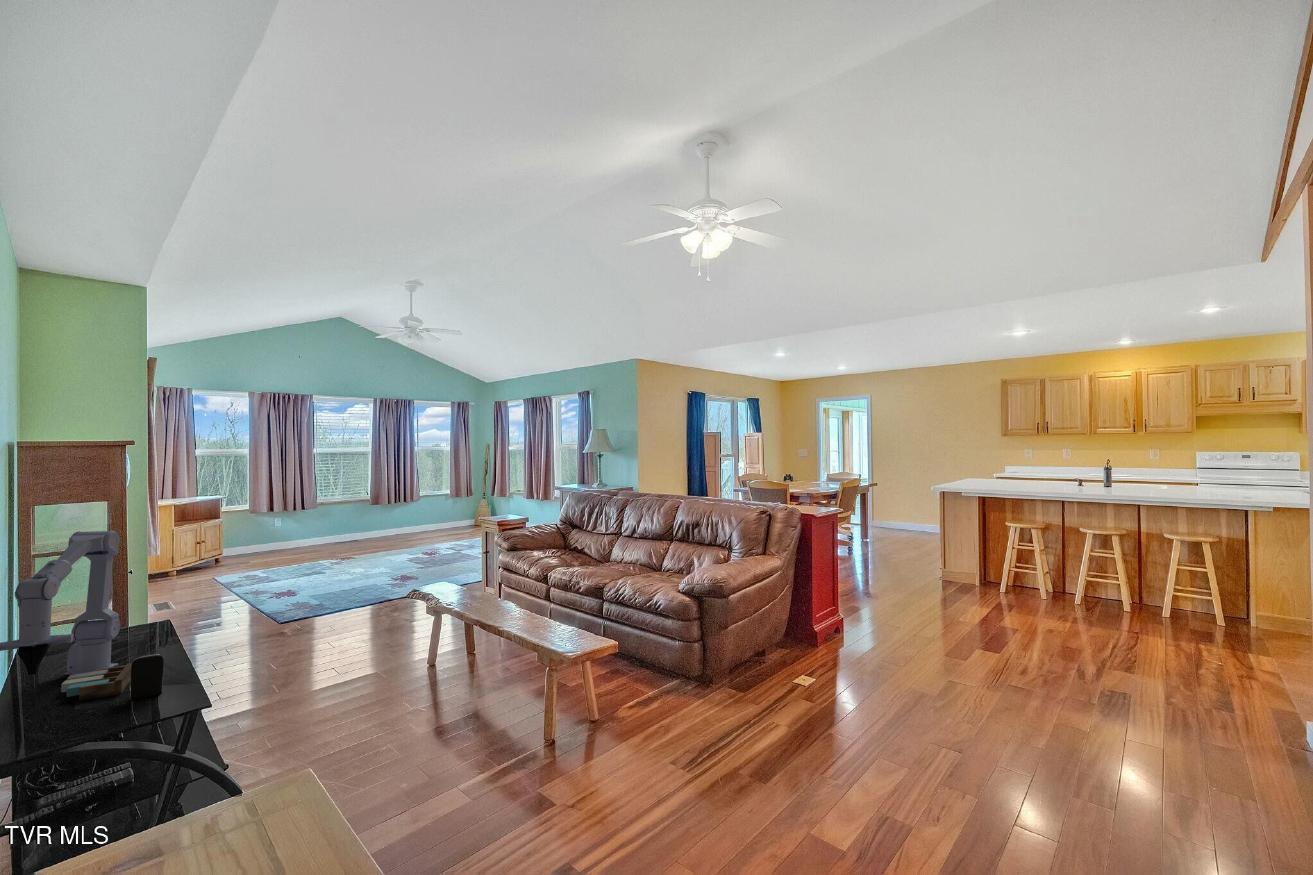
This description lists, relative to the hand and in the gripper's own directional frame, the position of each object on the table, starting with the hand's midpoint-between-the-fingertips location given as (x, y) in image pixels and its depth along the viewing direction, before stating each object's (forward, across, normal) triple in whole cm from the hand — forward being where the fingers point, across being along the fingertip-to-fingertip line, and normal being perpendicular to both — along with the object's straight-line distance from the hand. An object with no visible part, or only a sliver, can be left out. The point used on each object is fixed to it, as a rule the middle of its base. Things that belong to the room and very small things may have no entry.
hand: (33, 673), depth 152 cm
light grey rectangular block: (+7, +9, +10) cm, 15 cm away
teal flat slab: (+7, +11, 0) cm, 13 cm away
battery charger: (+9, +24, -9) cm, 28 cm away
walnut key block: (+8, +14, +4) cm, 17 cm away
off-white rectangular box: (+7, +9, +5) cm, 12 cm away
